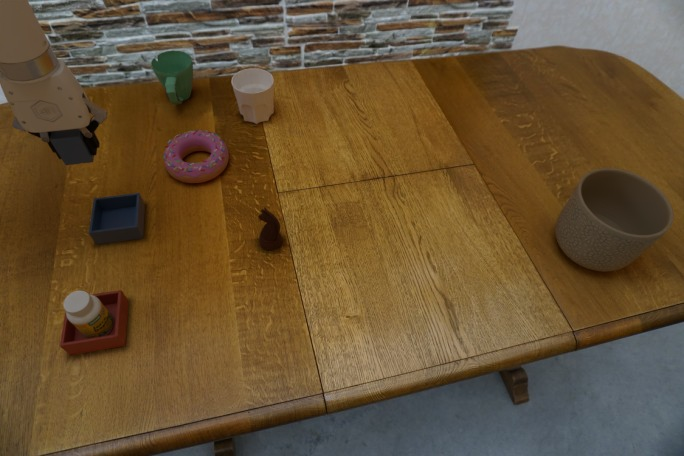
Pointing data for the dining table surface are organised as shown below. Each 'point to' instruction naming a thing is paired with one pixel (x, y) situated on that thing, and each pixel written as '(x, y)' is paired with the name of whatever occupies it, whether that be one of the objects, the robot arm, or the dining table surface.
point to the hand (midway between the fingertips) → (78, 151)
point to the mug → (174, 74)
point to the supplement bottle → (88, 314)
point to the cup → (254, 94)
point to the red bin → (79, 343)
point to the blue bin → (117, 218)
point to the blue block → (71, 146)
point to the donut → (192, 143)
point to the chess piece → (270, 231)
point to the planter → (612, 219)
